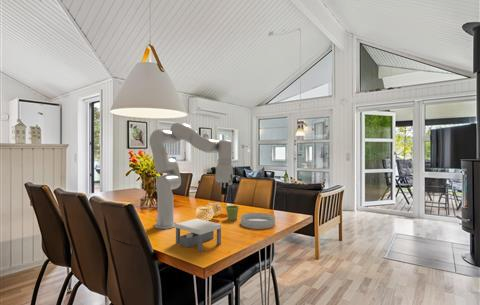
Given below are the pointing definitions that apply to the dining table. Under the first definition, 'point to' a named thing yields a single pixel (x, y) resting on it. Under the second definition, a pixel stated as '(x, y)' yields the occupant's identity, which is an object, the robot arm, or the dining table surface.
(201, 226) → the low table
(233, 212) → the plant pot
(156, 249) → the dining table surface
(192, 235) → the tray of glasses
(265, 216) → the dish
